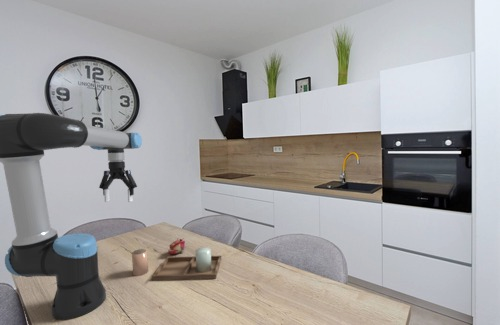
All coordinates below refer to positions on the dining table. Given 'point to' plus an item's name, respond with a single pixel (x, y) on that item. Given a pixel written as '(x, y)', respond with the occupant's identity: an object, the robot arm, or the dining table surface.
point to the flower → (177, 247)
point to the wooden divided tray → (185, 269)
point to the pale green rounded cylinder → (203, 259)
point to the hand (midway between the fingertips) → (118, 201)
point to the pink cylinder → (140, 262)
